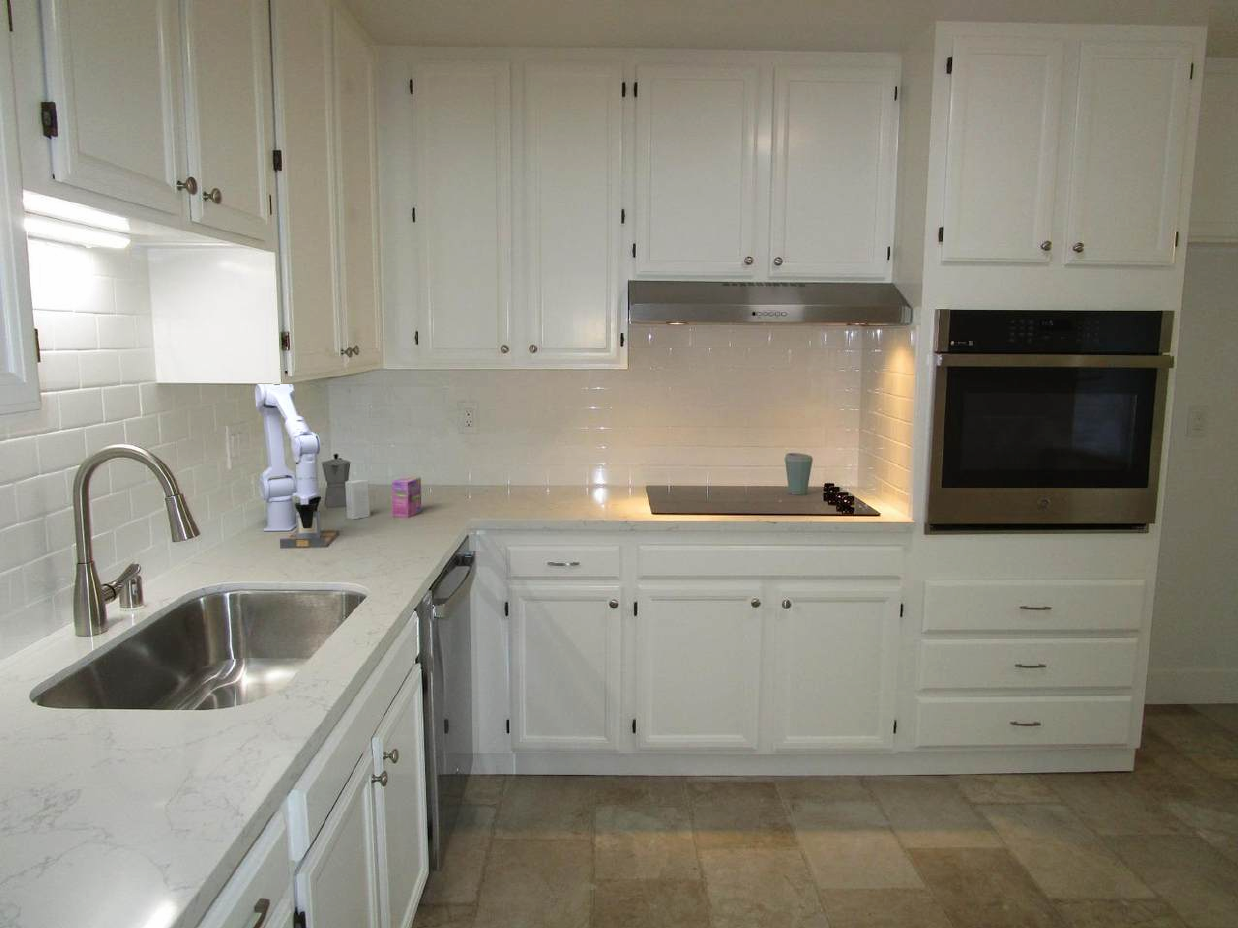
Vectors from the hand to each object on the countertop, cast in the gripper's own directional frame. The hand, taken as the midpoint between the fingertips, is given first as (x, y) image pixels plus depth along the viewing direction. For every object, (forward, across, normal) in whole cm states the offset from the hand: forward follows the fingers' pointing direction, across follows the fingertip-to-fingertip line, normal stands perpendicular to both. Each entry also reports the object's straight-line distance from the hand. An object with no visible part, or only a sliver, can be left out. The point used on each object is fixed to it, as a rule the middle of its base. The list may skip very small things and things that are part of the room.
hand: (309, 525), depth 242 cm
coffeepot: (+5, -56, +2) cm, 56 cm away
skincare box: (+5, -32, +10) cm, 34 cm away
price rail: (+5, +8, -1) cm, 9 cm away
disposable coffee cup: (+5, -49, +169) cm, 176 cm away
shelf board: (+5, -1, 0) cm, 5 cm away
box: (+5, -34, +26) cm, 43 cm away
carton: (+3, 0, 0) cm, 3 cm away
